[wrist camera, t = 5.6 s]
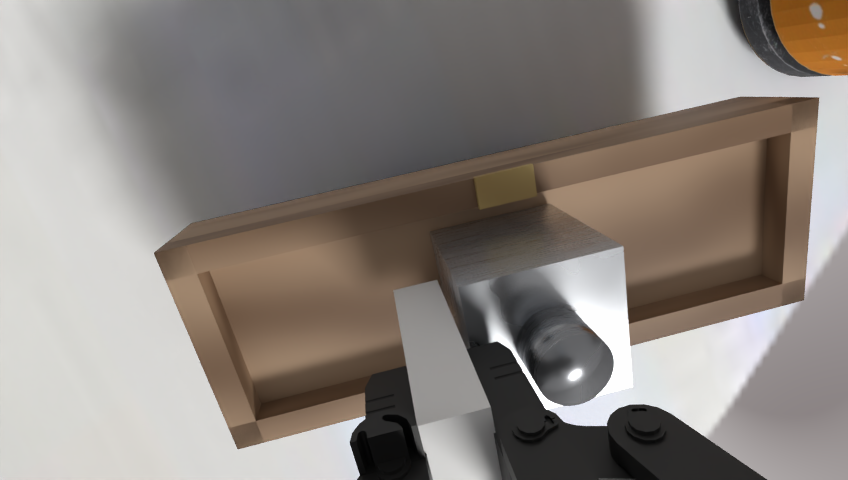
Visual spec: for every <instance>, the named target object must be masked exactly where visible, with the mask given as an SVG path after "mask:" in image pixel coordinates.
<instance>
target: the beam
mask: <svg viewBox="0 0 848 480" xmlns="http://www.w3.org/2000/svg"><path fill="white" fill-rule="evenodd" d="M818 106H819V98H810V97H737V98H733V99H728V100H724V101H720V102H715V103H711V104H707V105H702V106H698V107H694V108H689V109H685V110H681V111H676V112H672V113H668V114H663V115H659V116H655V117H650V118H646V119H642V120H637V121H633V122H629V123H624V124H620V125H616V126H611V127H607V128H603V129H598V130H594V131H590V132H585V133H581V134H577V135H572V136H568V137H564V138H559V139H555V140H551V141H546V142H542V143H538V144H533V145H529V146H525V147H520V148H516V149H512V150H507V151H503V152H499V153H494V154H490V155H486V156H481V157H477V158H473V159H468V160H464V161H460V162H455V163H451V164H447V165H442V166H438V167H434V168H429V169H425V170H421V171H416V172H412V173H408V174H403V175H399V176H395V177H390V178H386V179H382V180H377V181H373V182H369V183H364V184H360V185H356V186H351V187H347V188H343V189H338V190H334V191H330V192H325V193H321V194H317V195H312V196H308V197H304V198H299V199H295V200H291V201H286V202H282V203H278V204H273V205H269V206H265V207H260V208H256V209H252V210H247V211H243V212H238V213H234V214H230V215H225V216H221V217H217V218H212V219H208V220H204V221H199V222H195V223H191V224H190V225H189V226H187V227H186V228H185V229H184V230H182V231H181V232H180V233H179V234H177V235H176V236H175V237H173V238H172V239H171V240H170V241H168V242H167V243H166V244H165V245H163V246H162V247H161V248H159V249H158V250H157V251H156V252H154V255H155V257H156V259H157V262H158V264H159V266H160V269H161V271H162V273H163V276H164V278H165V280H166V283H167V285H168V287H169V290H170V292H171V294H172V297H173V299H174V301H175V304H176V306H177V308H178V311H179V313H180V315H181V318H182V320H183V322H184V325H185V327H186V329H187V332H188V334H189V336H190V339H191V341H192V343H193V346H194V348H195V351H196V353H197V355H198V358H199V360H200V362H201V365H202V367H203V369H204V372H205V374H206V376H207V379H208V381H209V383H210V386H211V388H212V390H213V393H214V395H215V397H216V400H217V402H218V404H219V407H220V409H221V411H222V414H223V416H224V418H225V421H226V423H227V425H228V428H229V430H230V432H231V435H232V437H233V439H234V442H235V444H236V446H237V449H241V448H245V447H249V446H252V445H256V444H260V443H264V442H267V441H271V440H275V439H279V438H283V437H286V436H290V435H294V434H298V433H302V432H305V431H309V430H313V429H317V428H321V427H324V426H328V425H332V424H336V423H340V422H343V421H347V420H351V419H355V418H359V417H362V416H365V415H366V413H365V404H366V403H365V387H366V385H367V383H368V381H369V379H370V377H371V376H372V374H376V373H379V372H383V371H387V370H391V369H395V368H399V367H403V366H406V360H405V354H404V349H403V343H402V337H401V332H400V326H399V320H398V314H397V309H396V303H395V297H394V292H393V290H397V289H401V288H405V287H409V286H413V285H417V284H421V283H426V282H430V281H434V280H437V281H438V283H439V286H440V288H441V290H442V287H441V282H440V277H439V273H438V268H437V263H436V259H435V254H434V249H433V244H432V240H431V235H430V232H431V231H435V230H439V229H443V228H447V227H452V226H456V225H460V224H464V223H468V222H473V221H477V220H481V219H485V218H489V217H493V216H498V215H502V214H506V213H510V212H514V211H518V210H523V209H527V208H531V207H535V206H539V205H543V204H548V203H550V204H551V205H553V206H555V207H557V208H558V209H560V210H562V211H564V212H565V213H567V214H569V215H570V216H572V217H574V218H576V219H577V220H579V221H581V222H583V223H584V224H586V225H588V226H589V227H591V228H593V229H595V230H596V231H598V232H600V233H602V234H603V235H605V236H607V237H608V238H610V239H612V240H614V241H615V242H617V243H619V244H621V245H622V246H623V248H624V263H625V278H626V293H627V309H628V324H629V339H630V346H632V345H636V344H639V343H643V342H647V341H651V340H655V339H658V338H662V337H666V336H670V335H674V334H677V333H681V332H685V331H689V330H692V329H696V328H700V327H704V326H708V325H711V324H715V323H719V322H723V321H727V320H730V319H734V318H738V317H742V316H746V315H749V314H753V313H757V312H761V311H765V310H768V309H772V308H776V307H780V306H784V305H787V304H791V303H795V302H799V301H802V300H804V292H805V279H806V265H807V252H808V239H809V226H810V212H811V199H812V186H813V172H814V159H815V146H816V133H817V119H818ZM442 293H443V292H442Z"/></svg>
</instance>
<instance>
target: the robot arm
mask: <svg viewBox="0 0 848 480" xmlns="http://www.w3.org/2000/svg"><path fill="white" fill-rule="evenodd" d="M393 292H394V297H395V303H396V309H397V314H398V320H399V326H400V332H401V337H402V343H403V349H404V354H405V360H406V366H403V367H399V368H395V369H391V370H387V371H383V372H379V373H376V374H372V376H371V377H370V379H369V381H368V383H367V385H366V387H365V403H366V404H365V413H366V415H365V418H366V419H365V420H364V421H363V422H361V423H360V424H359V425H358V426H357V428H356V429H355V430H354V432H353V433H352V436H351V440H350V445H351V448H352V451H353V455H354V458H355V461H356V464H357V467H358V470H359V473H360V476H359V478H358V479H357V480H767V479H765V478H764V477H762V476H761V475H759V474H758V473H757V472H755V471H753V470H752V469H751V468H749V467H748V466H746V465H745V464H743V463H742V462H740V461H739V460H737V459H736V458H735V457H733V456H731V455H730V454H729V453H727V452H726V451H724V450H723V449H721V448H720V447H719V446H717V445H715V444H714V443H713V442H711V441H710V440H708V439H707V438H705V437H704V436H703V435H701V434H700V433H698V432H697V431H695V430H694V429H692V428H691V427H689V426H688V425H686V424H685V423H684V422H682V421H681V420H679V419H678V418H676V417H675V416H673V415H672V414H670V413H668V412H666V411H664V410H662V409H660V408H658V407H653V406H649V405H644V404H643V405H628V406H625V407H621V408H618V409H617V410H616V411H615V412H613V413H612V414H611V415H610V417H609V420H608V422H607V426H576V425H572V424H568V423H565V422H563V421H562V420H561V419H560V418H559V417H558V416H557V415H556V414H555V413H553V412H551V411H549V410H547V409H546V408H545V407H544V405H543V403H542V402H541V400H540V398H539V397H538V395H537V393H536V392H535V390H534V388H533V387H532V385H531V383H530V382H529V380H528V378H527V376H526V375H525V373H523V370H522V368H521V366H520V365H519V363H518V362H517V360H516V358H515V356H514V355H513V353H512V351H511V350H510V349H509V348H507V347H506V346H504V345H503V344H501V343H499V342H498V341H496V342H492V343H488V344H484V345H480V346H476V347H473V348H469V349H466V347H465V345H464V342H463V340H462V338H461V335H460V333H459V331H458V328H457V326H456V323H455V321H454V319H453V316H452V314H451V312H450V309H449V307H448V304H447V302H446V300H445V297H444V295H443V293H442V290H441V288H440V286H439V283H438V281H437V280H434V281H430V282H426V283H421V284H417V285H413V286H409V287H405V288H401V289H397V290H393Z"/></svg>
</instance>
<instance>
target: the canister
mask: <svg viewBox="0 0 848 480" xmlns="http://www.w3.org/2000/svg"><path fill="white" fill-rule="evenodd" d="M739 11H740V19H741V23H742V26H743V30H744V33H745V35H746V37H747V40H748V42H749V44H750V46H751V47H752V49H753V50H754V51H755V53H756V54H757V56H758V57H759V58H760V59H761V60H762V61H763V62H765V63H766V64H767V65H768V66H770V67H771V68H773V69H775V70H776V71H778V72H781V73H784V74H787V75H791V76H799V77H809V76H831V75H834V76H838V75H848V0H739Z"/></svg>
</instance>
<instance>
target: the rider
mask: <svg viewBox="0 0 848 480" xmlns="http://www.w3.org/2000/svg"><path fill="white" fill-rule="evenodd" d="M430 235H431V240H432V244H433V249H434V254H435V259H436V263H437V268H438V273H439V277H440V282H441V287H442V292H443V295H444V297H445V300H446V302H447V304H448V307H449V309H450V312H451V314H452V316H453V319H454V321H455V323H456V326H457V328H458V331H459V333H460V335H461V338H462V340H463V342H464V345H465V347H466V349H469V348H473V347H476V346H480V345H484V344H488V343H492V342H496V341H498V342H499V343H501V344H503V345H504V346H506V347H507V348H509V349H510V350H511V351H512V353H513V355H514V356H515V358H516V360H517V362H518V363H519V365H520V366H521V368H522V370H523V373H525V375H526V376H527V378H528V380H529V382H530V383H531V385H532V387H533V388H534V390H535V392H536V393H537V395H538V397H539V398H540V400H541V402H542V403H543V405H544V407H545V408H546V409H551V408H555V407H558V406H562V405H563V406H572V405H578V404H582V403H585V402H587V401H589V400H591V399H593V398H594V397H596V396H599V395H603V394H607V393H610V392H614V391H618V390H622V389H625V388H629V387H633V384H632V369H631V354H630V339H629V324H628V309H627V293H626V278H625V263H624V248H623V246H622V245H621V244H619V243H617V242H615V241H614V240H612V239H610V238H608V237H607V236H605V235H603V234H602V233H600V232H598V231H596V230H595V229H593V228H591V227H589V226H588V225H586V224H584V223H583V222H581V221H579V220H577V219H576V218H574V217H572V216H570V215H569V214H567V213H565V212H564V211H562V210H560V209H558V208H557V207H555V206H553V205H551V204H550V203H548V204H543V205H539V206H535V207H531V208H527V209H523V210H518V211H514V212H510V213H506V214H502V215H498V216H493V217H489V218H485V219H481V220H477V221H473V222H468V223H464V224H460V225H456V226H452V227H447V228H443V229H439V230H435V231H431V232H430Z"/></svg>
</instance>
